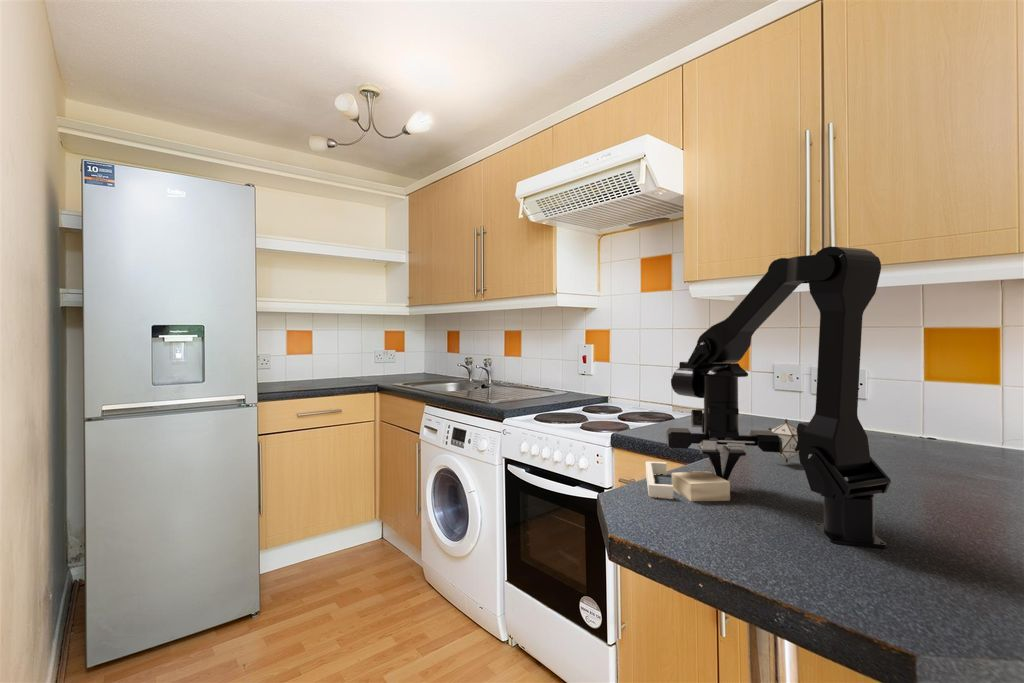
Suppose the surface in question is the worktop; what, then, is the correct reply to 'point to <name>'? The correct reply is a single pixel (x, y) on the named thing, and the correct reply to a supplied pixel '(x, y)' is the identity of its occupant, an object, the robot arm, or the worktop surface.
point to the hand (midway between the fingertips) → (721, 487)
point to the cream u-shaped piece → (653, 488)
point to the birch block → (701, 486)
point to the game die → (787, 439)
